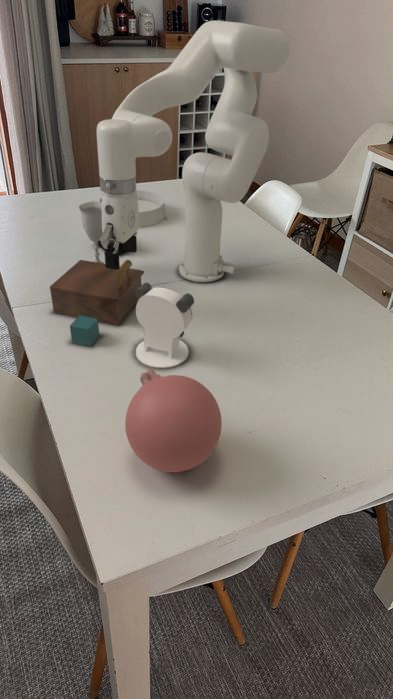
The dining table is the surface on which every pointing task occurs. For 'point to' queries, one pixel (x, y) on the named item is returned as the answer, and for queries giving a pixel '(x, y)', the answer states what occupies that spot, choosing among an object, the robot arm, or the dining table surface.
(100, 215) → the chalice
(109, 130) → the robot arm
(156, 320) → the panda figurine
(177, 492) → the dining table surface
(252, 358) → the dining table surface
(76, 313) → the box
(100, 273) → the box lid
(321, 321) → the dining table surface
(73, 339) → the block
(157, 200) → the dish
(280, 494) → the dining table surface
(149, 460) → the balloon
